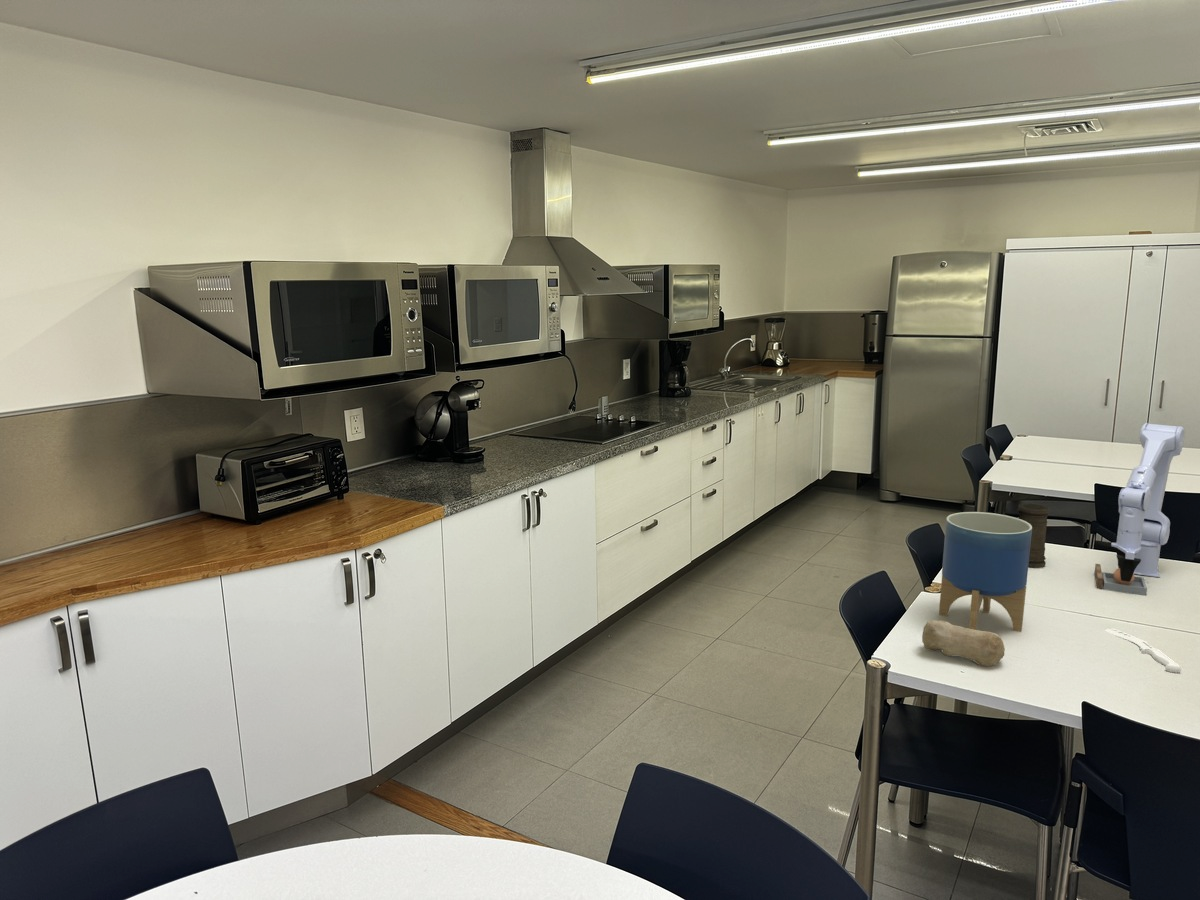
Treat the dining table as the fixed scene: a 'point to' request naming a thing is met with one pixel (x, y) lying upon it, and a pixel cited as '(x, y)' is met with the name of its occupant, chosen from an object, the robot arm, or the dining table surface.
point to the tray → (1134, 588)
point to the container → (1035, 531)
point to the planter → (986, 563)
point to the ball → (1118, 578)
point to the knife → (1149, 650)
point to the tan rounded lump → (963, 642)
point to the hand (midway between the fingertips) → (1124, 576)
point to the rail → (1098, 576)
